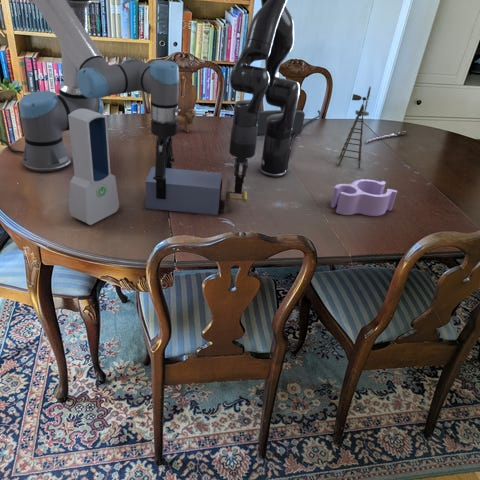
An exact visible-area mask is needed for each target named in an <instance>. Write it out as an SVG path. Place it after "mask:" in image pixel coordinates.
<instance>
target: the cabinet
mask: <svg viewBox="0 0 480 480" xmlns="http://www.w3.org/2000/svg"><path fill="white" fill-rule="evenodd" d="M155 167H156V166H151V168H150V171H149V173H148V175H147V177H146V178H145V179H146V180H145V184H144V186H145V209H148V210H157V211H158V210H159V211H169V212H181V213H191V214H202V215H212V216H218V215H219V210H220V209H218V208H219V195H220V186H221V179H223V173H221V172H212V171H201V170H192V169H180V168H172V169H171V168H166V173H165V178H166V199H156V180H155V179H153V177H155Z"/></svg>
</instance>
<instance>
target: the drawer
mask: <svg viewBox="0 0 480 480" xmlns="http://www.w3.org/2000/svg"><path fill="white" fill-rule="evenodd" d="M231 186H232V177H227V178H226V186H225V196H224V197H225V199H224V208H223V209H224V210H223V212H224V213H229V207H230V200H232V201H242V202H243V203H246V202H247V201H248V191H247V190H242V193H241V194H240V195H241V197H236V196H230V195H231V194H235V193H234V191H235V190H231V188H232V187H231ZM222 192H223V178H222V179H221V186H220V195H219V208H218V209H219V210H220V209H221V201H222Z"/></svg>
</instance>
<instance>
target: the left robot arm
mask: <svg viewBox="0 0 480 480" xmlns="http://www.w3.org/2000/svg"><path fill="white" fill-rule="evenodd" d="M93 1H94V0H28V2H29V3H32V4H34V5H35V6H36V8H37V10H38V11H39V13H40V14H41V15H42V18H44V20H45V22H46V23H47V25H48V26H49V28H50V29H51V31H52V32H53V34H54V36H55V37H56V39H57V40H58V41H59V43H60V52H61V66H62V67H61V68H62V82H61V83H60V84H59V86H58V94H56V92H54V91H51V90H42V91H41V90H37V91H32V92H30V93H26V94H24V96H22V97H21V99H20V100H19V103H18V104H19V116H20V120H21V126H22V132H23V136H24V148H23V150H19V149H18V150H17V149H14V148H11V146H10V144H9V142H7V141H6V140H4V139H1V138H0V142H1V143H4V144H5V145H6V147H7V149H8V150H9V151H11V152H13V153H16V154H17V153H18V154H22V158H21V159H22V160H21V161H22V166H23V168H24V169H25V170H27V171H29V172H33V173H39V174H46V173H56V172H61V171H63V170H66V169H67V168H69V167H70V166H71V163H72V159H71V155H70V153H69V151H68V150H67V149H68V148H67V147H66V145H65V143H64V140H63V132H66V131H67V132H68V131H70V128H69V119H68V115H69V114H70V113H71V112H73V111H75V110H77V109H88V110H91V111H94V112H97V113H100V114H103V115H104V102H103V100H102V99H103V98H106V97H110V96H115V95H116V96H117V95H122V94H123V95H124V94H127V93H133V92H138V91H139V92H143V93H146V94H148V95H150V119H151V120H150V132H151V134H152V135H154V136H156V137H157V140H156V142H155V143H156V144H155V166H154V167H155V177H153V179H155V180H156V199H166V178H165V173H166V168H171V169H173V163H175V158H174V153H173V137H175V136H176V135H177V134H178V133H179V124H178V121H177V119H178V116H179V113H181V109H180V108H179V88H180V87H179V86H180V74H179V73H180V71H179V70H180V69H179V65H178V64H177V63H176V62H175V61H172V60H167V59H155V60H152V61H151V62H150V63H147V62H145V61H143V60H140V59H135V58H127V59H125V60H124V61H123V62H122V63H116V64H109V63H108V62H107V61H106V59H105V58H104V56H103V55H102V53H101V51H100V50H99V48H98V47H97V45H96V44H95V42H94V41H93V39H92V38H91V36H90V23H89V22H90V21H89V5H91V4H92V3H93Z"/></svg>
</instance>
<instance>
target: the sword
mask: <svg viewBox="0 0 480 480" xmlns="http://www.w3.org/2000/svg"><path fill="white" fill-rule="evenodd" d="M404 134H406V133H402V134H400V132H393V133H390V134H387V135H381V136H378V137H374V138H370V139H368V140H366V141H365V144H368V143H370V142H374V141H378V140H381V139H386V138H390V137H394V136H395V137H398V136H399V135H404Z"/></svg>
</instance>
